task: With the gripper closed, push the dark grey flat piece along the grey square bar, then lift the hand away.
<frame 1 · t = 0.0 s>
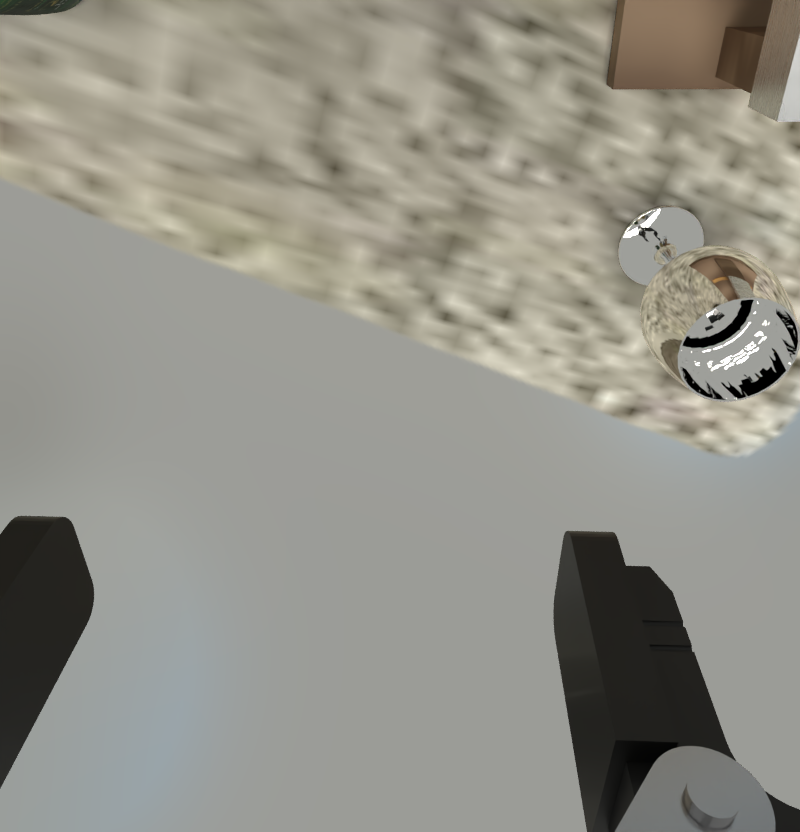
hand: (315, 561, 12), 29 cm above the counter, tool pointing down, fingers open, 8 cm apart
wineglass: (659, 245, 39), on the counter
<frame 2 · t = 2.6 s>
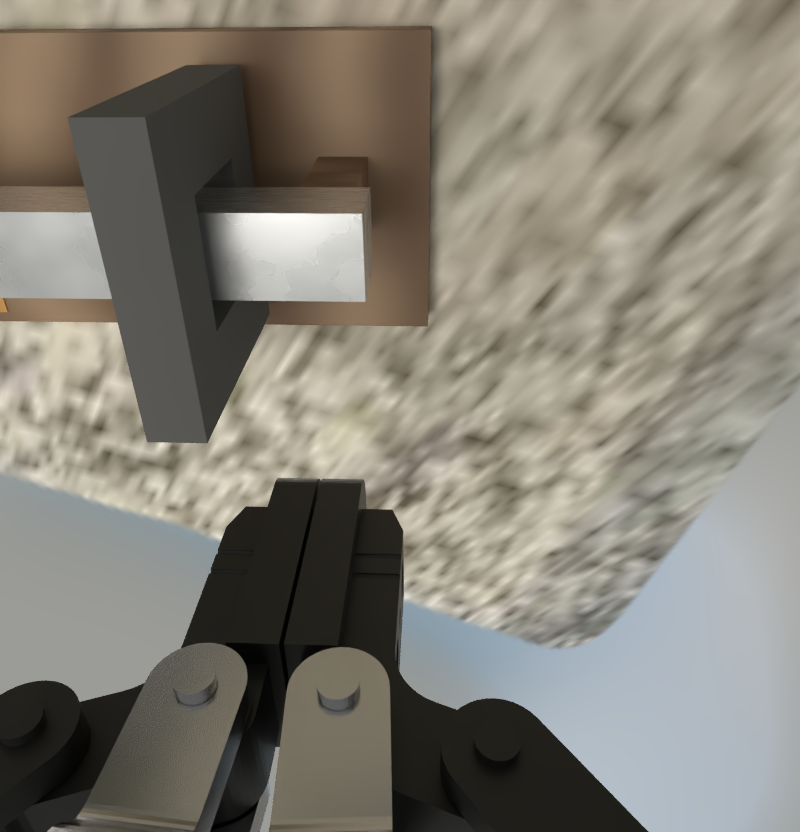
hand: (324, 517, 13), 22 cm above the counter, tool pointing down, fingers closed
pipe board: (133, 183, 32), on the counter
grey square bar: (28, 241, 25), on the pipe board, point 8 cm above the counter
dark grey flat piece: (196, 242, 25), point 8 cm above the counter, slide at 0.0 cm
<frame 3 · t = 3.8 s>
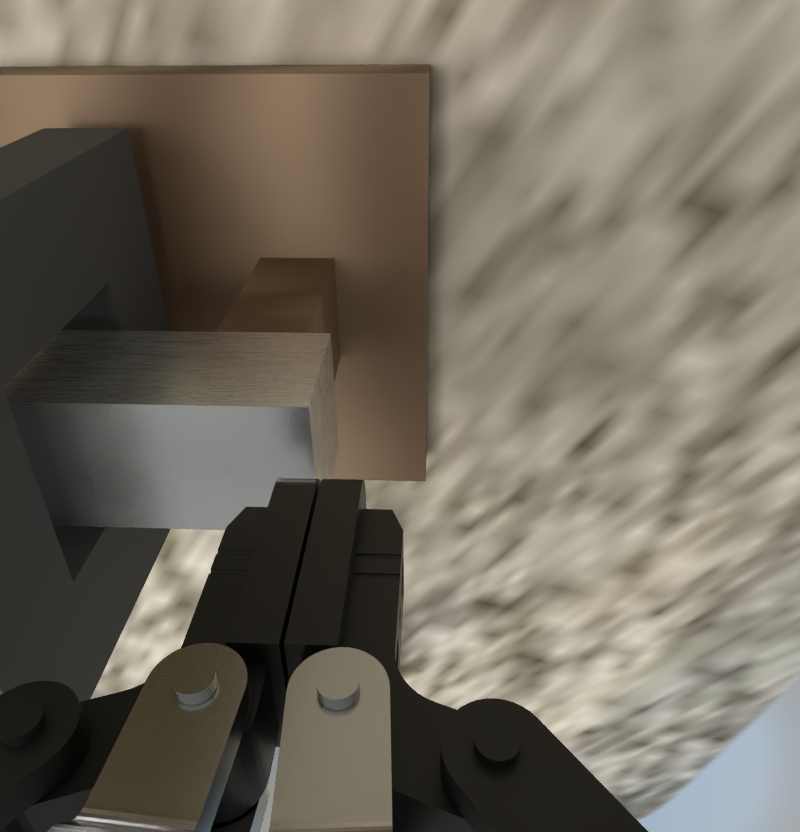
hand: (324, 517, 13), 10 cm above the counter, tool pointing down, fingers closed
pipe board: (0, 285, 22), on the counter
dark grey flat piece: (46, 424, 15), point 7 cm above the counter, slide at 0.0 cm
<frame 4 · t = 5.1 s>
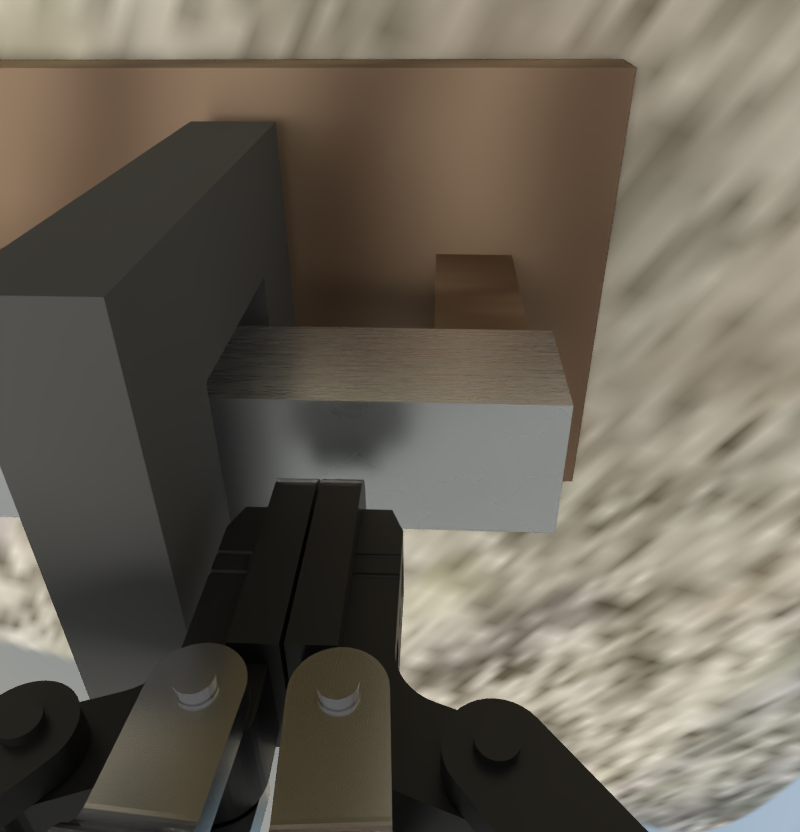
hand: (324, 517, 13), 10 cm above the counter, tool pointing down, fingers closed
pipe board: (152, 281, 22), on the counter
dark grey flat piece: (206, 420, 15), point 8 cm above the counter, slide at 1.3 cm, touching gripper
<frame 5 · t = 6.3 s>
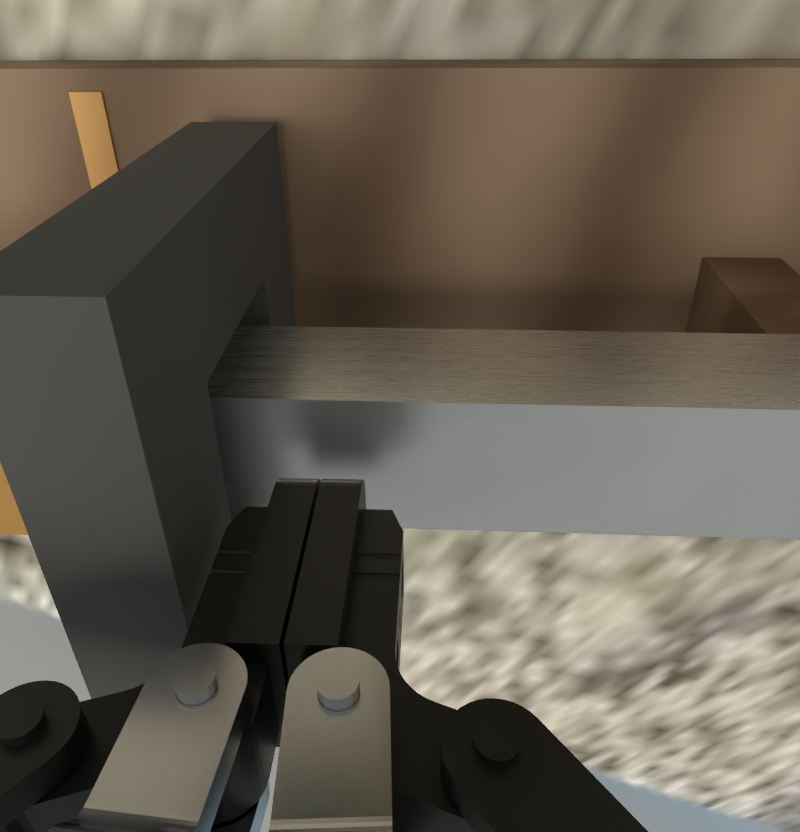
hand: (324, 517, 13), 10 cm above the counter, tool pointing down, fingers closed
pipe board: (383, 284, 21), on the counter
grey square bar: (311, 423, 15), on the pipe board, point 8 cm above the counter
dark grey flat piece: (207, 420, 15), point 7 cm above the counter, slide at 8.2 cm, touching gripper
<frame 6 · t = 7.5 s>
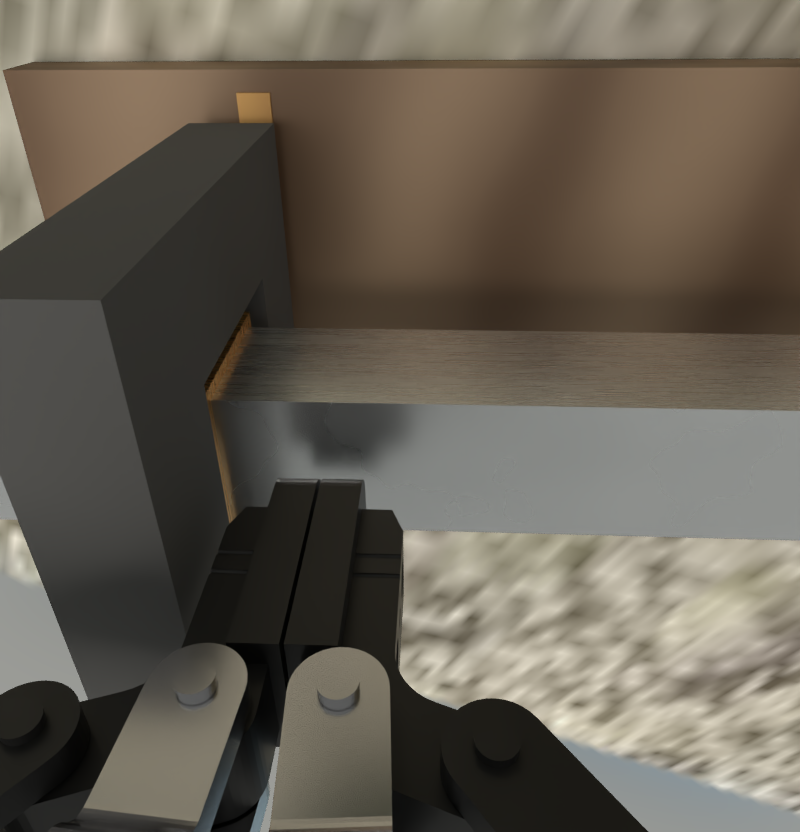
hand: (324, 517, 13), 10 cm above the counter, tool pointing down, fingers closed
pipe board: (523, 286, 21), on the counter
grey square bar: (508, 428, 15), on the pipe board, point 8 cm above the counter
dark grey flat piece: (204, 422, 15), point 8 cm above the counter, slide at 12.4 cm, touching gripper
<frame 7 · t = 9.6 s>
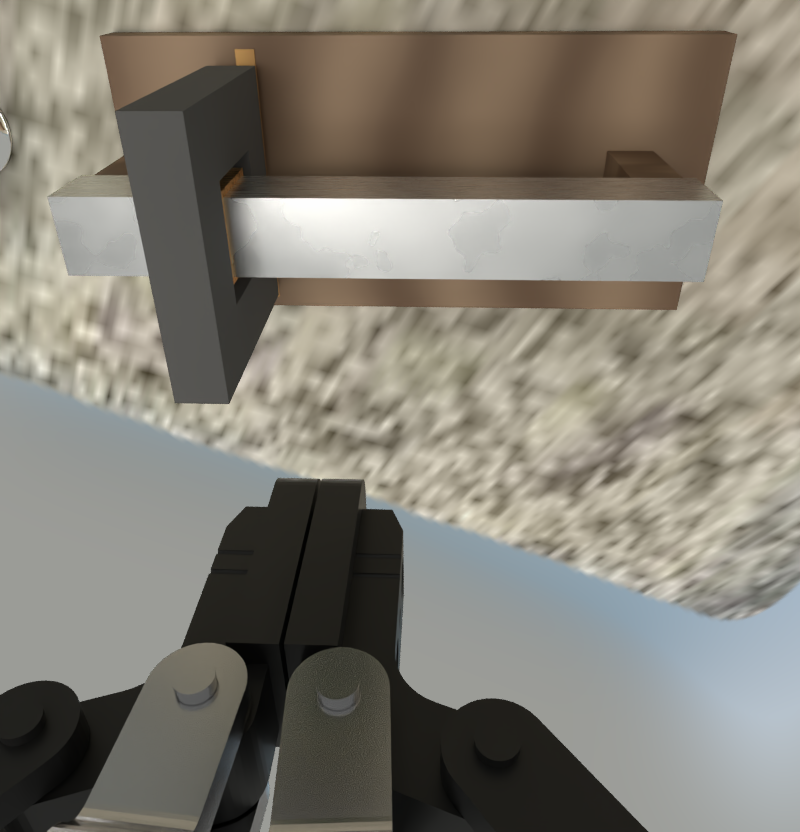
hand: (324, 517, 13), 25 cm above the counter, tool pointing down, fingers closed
pipe board: (413, 175, 34), on the counter
grey square bar: (382, 226, 28), on the pipe board, point 8 cm above the counter
dark grey flat piece: (217, 225, 28), point 8 cm above the counter, slide at 12.4 cm
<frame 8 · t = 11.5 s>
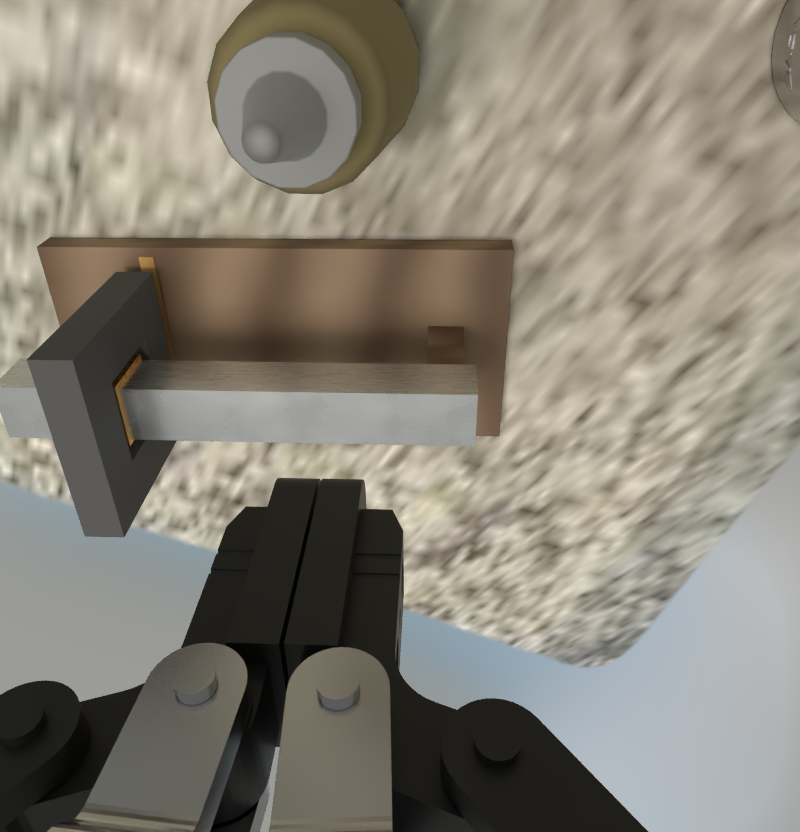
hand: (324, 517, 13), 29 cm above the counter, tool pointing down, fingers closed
squeeze bottle: (339, 59, 35), on the counter
pipe board: (287, 336, 43), on the counter
grey square bar: (241, 401, 37), on the pipe board, point 8 cm above the counter
dark grey flat piece: (119, 399, 37), point 7 cm above the counter, slide at 12.4 cm
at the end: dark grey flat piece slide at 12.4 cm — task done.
